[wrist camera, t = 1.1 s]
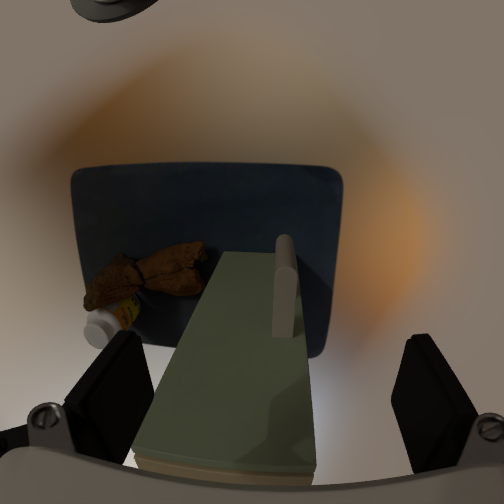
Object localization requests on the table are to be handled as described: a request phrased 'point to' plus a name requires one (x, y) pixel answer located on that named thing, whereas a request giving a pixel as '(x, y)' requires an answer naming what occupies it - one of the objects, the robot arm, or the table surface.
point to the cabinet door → (239, 373)
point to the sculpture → (148, 275)
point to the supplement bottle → (110, 321)
